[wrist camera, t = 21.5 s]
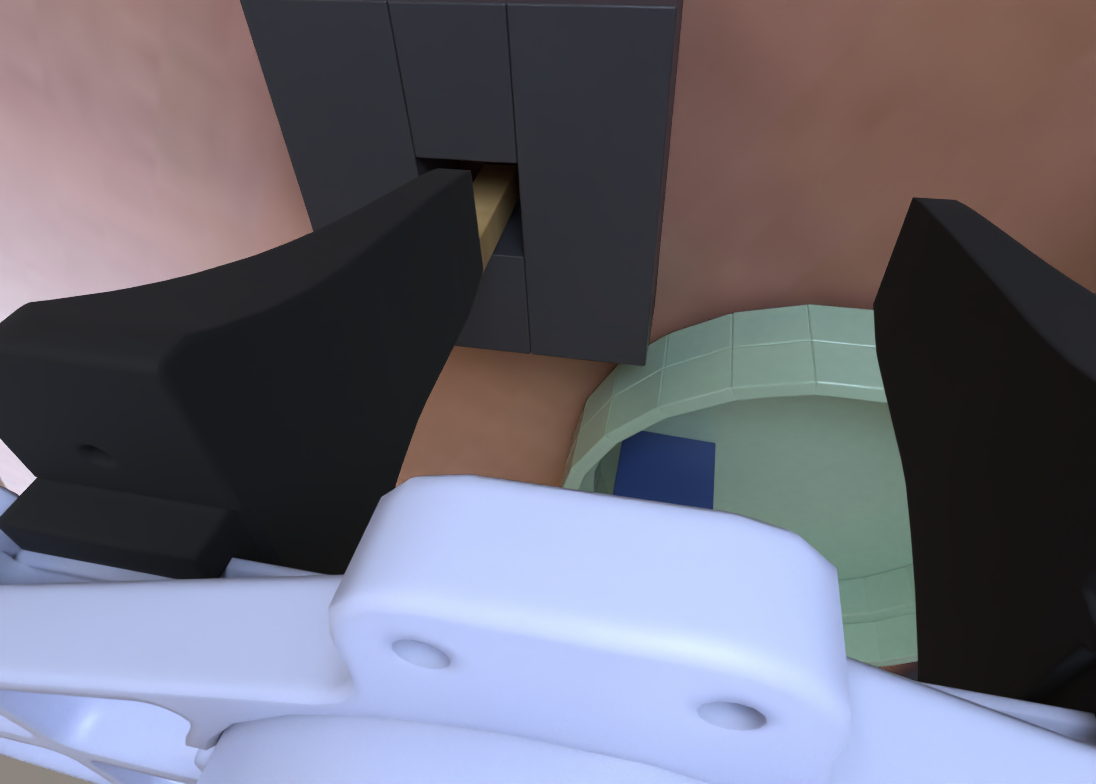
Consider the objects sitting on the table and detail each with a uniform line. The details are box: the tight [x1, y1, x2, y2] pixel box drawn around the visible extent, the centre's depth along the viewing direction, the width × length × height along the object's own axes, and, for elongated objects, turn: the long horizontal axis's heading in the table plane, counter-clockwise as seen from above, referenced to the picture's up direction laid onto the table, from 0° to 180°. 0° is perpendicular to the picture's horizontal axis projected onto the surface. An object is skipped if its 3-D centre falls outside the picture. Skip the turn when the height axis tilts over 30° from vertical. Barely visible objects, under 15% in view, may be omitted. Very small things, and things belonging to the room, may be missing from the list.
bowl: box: [560, 304, 918, 667], centre depth 28 cm, size 19×19×4 cm
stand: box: [240, 0, 683, 366], centre depth 21 cm, size 11×11×4 cm
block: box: [613, 431, 716, 509], centre depth 29 cm, size 4×4×4 cm
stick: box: [472, 164, 520, 274], centre depth 20 cm, size 1×1×9 cm
